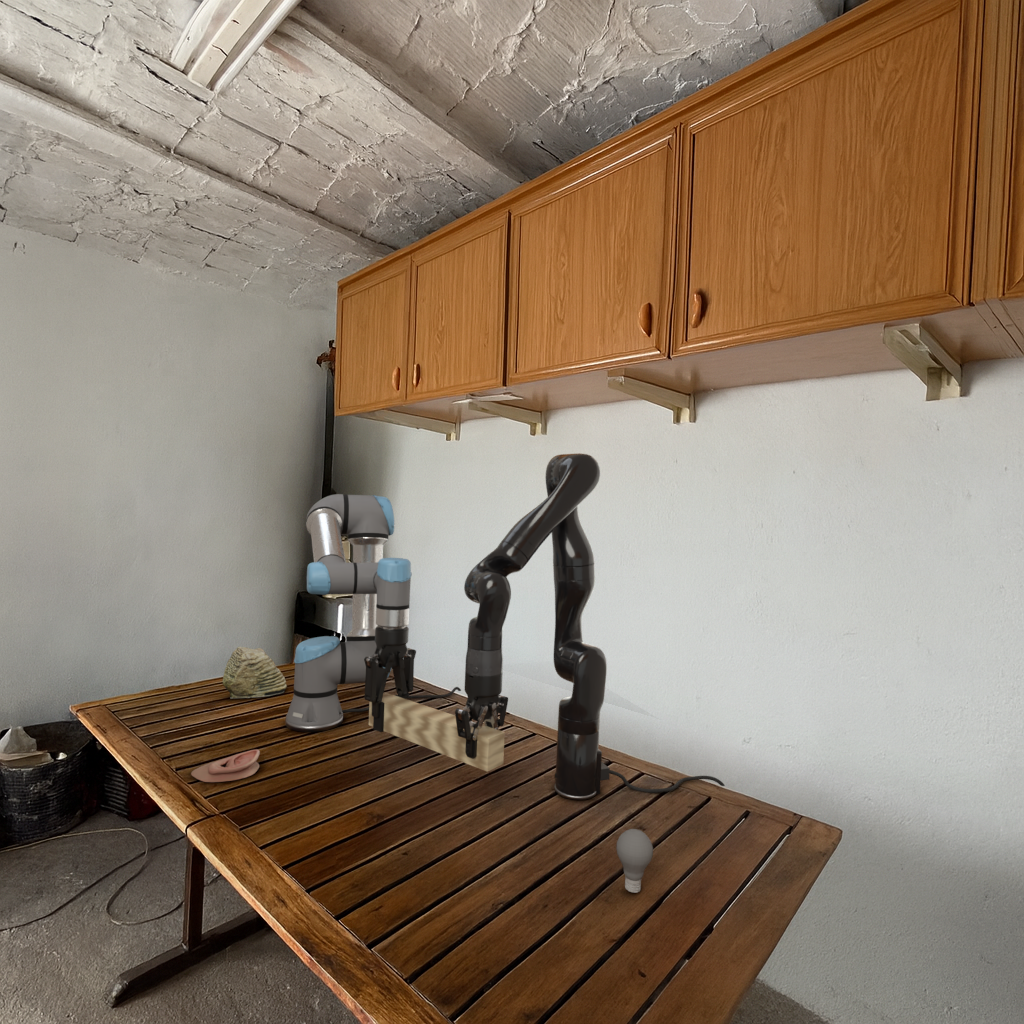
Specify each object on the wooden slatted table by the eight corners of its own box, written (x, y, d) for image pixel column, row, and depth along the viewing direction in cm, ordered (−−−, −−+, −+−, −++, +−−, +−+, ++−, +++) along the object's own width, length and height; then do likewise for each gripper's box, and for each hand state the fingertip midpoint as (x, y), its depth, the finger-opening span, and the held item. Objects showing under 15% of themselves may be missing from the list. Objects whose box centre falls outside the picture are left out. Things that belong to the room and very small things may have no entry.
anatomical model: (182, 760, 139) (216, 741, 150) (181, 778, 139) (216, 758, 150) (236, 768, 136) (267, 748, 147) (235, 786, 136) (266, 765, 147)
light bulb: (610, 879, 108) (613, 822, 108) (644, 879, 109) (647, 822, 109) (619, 902, 102) (622, 840, 102) (655, 901, 103) (658, 840, 103)
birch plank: (368, 725, 145) (369, 697, 145) (385, 719, 149) (386, 692, 149) (487, 771, 123) (488, 738, 123) (503, 764, 127) (504, 732, 127)
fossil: (218, 695, 195) (220, 647, 195) (278, 685, 208) (279, 640, 207) (228, 703, 189) (230, 653, 188) (289, 692, 201) (290, 645, 201)
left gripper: (410, 618, 154) (406, 713, 154) (349, 628, 140) (345, 733, 140) (432, 623, 149) (428, 721, 150) (371, 634, 135) (366, 742, 136)
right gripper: (492, 659, 135) (489, 738, 135) (445, 672, 124) (442, 758, 124) (520, 666, 130) (517, 748, 131) (474, 680, 119) (470, 769, 120)
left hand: (388, 726), depth 145 cm, fingers closed on birch plank, 5 cm apart
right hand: (480, 752), depth 128 cm, fingers closed on birch plank, 5 cm apart
